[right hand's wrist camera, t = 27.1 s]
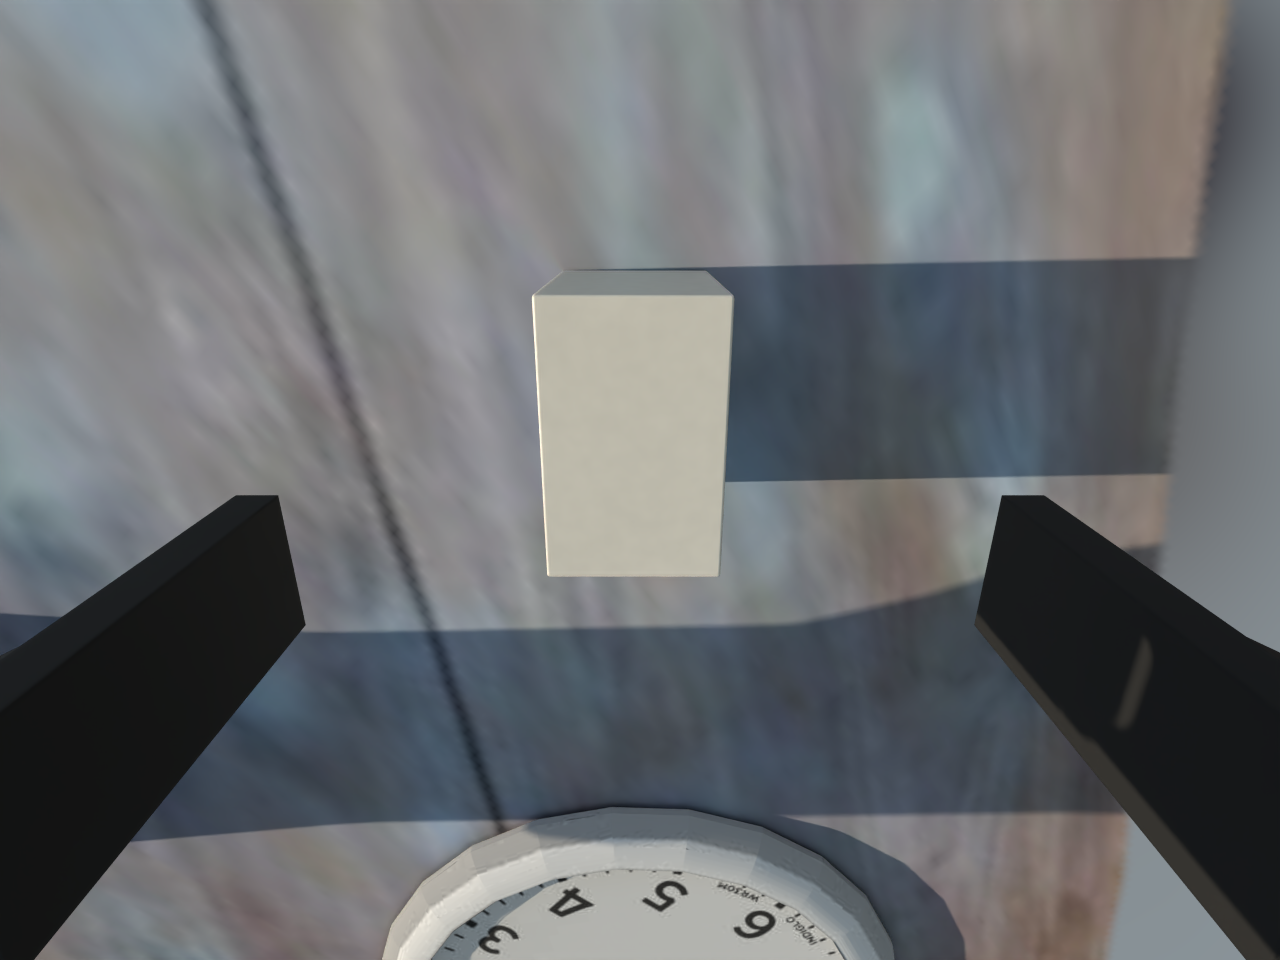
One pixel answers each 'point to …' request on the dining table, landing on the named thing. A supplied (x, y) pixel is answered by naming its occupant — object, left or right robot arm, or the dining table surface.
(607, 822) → the wall clock
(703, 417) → the block
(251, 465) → the dining table surface
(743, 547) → the dining table surface
